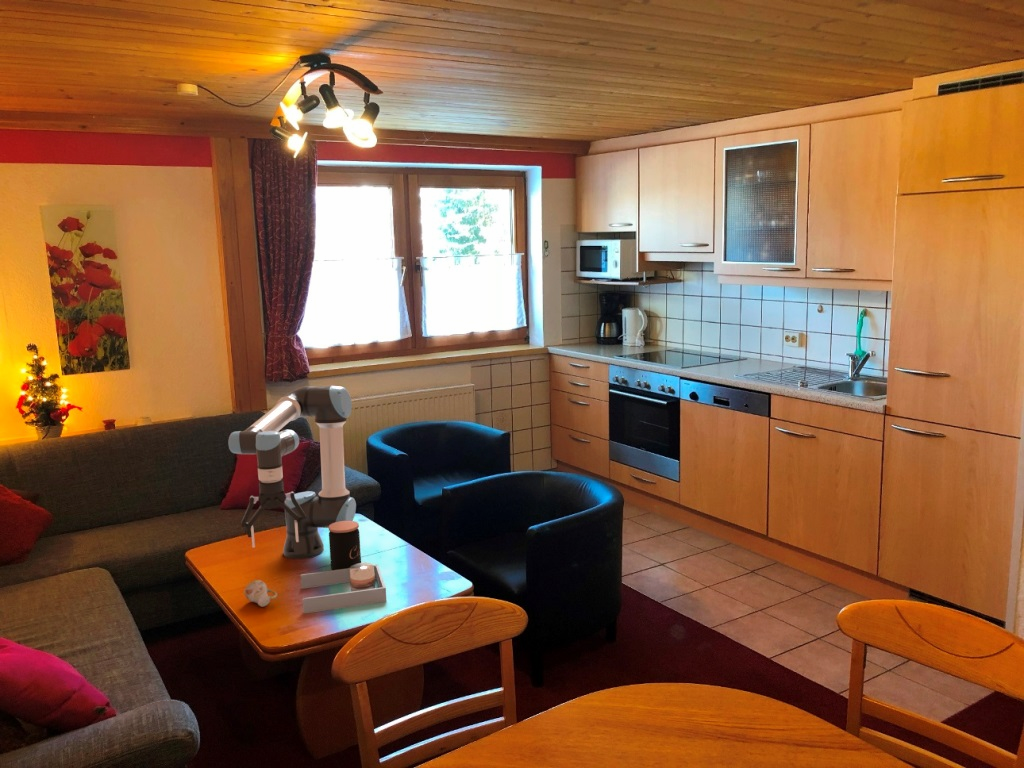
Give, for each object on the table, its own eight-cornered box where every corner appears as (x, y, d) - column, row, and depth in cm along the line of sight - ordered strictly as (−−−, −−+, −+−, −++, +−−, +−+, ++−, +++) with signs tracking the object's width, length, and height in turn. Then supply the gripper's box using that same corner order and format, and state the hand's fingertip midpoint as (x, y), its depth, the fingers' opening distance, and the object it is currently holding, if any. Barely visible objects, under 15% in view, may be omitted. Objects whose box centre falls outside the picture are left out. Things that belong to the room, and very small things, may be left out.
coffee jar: (354, 580, 286) (351, 530, 283) (326, 578, 288) (323, 529, 285) (366, 568, 296) (363, 521, 294) (338, 567, 299) (335, 520, 296)
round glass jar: (350, 589, 278) (348, 564, 277) (374, 586, 280) (372, 561, 279) (352, 598, 270) (350, 573, 269) (376, 595, 273) (375, 569, 271)
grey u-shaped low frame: (301, 588, 280) (300, 574, 279) (378, 578, 287) (377, 564, 286) (303, 614, 260) (302, 599, 259) (386, 602, 267) (385, 587, 266)
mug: (261, 614, 262) (236, 595, 262) (266, 611, 272) (242, 592, 272) (276, 595, 264) (252, 576, 264) (281, 592, 274) (257, 574, 274)
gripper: (229, 487, 254) (234, 552, 257) (311, 478, 261) (316, 542, 265) (229, 481, 261) (235, 544, 264) (309, 472, 268) (314, 534, 272)
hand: (275, 543), depth 264 cm, fingers open, 13 cm apart
